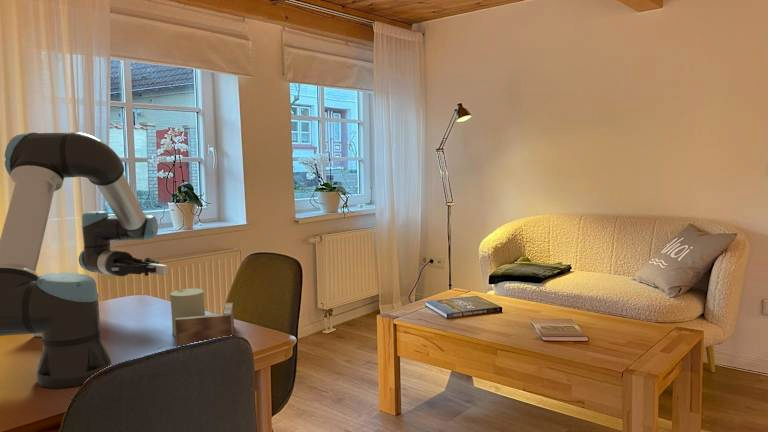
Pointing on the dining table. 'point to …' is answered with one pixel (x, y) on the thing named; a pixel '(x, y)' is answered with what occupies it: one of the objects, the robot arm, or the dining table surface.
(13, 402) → the dining table surface
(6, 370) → the dining table surface
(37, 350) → the dining table surface
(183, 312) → the can
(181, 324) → the v stop
